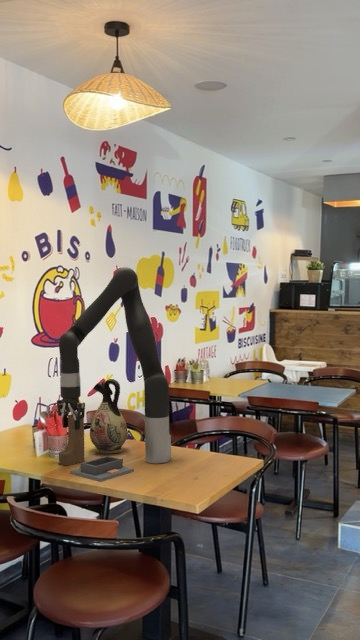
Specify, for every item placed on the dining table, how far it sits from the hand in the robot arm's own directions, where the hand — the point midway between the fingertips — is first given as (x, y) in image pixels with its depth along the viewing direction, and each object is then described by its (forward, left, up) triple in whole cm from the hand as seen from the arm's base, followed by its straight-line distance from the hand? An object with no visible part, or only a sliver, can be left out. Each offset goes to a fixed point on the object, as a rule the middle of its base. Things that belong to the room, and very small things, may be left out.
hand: (71, 428), depth 234 cm
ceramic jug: (-21, -1, -13) cm, 25 cm away
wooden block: (0, 0, -13) cm, 13 cm away
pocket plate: (+2, +19, -13) cm, 23 cm away
